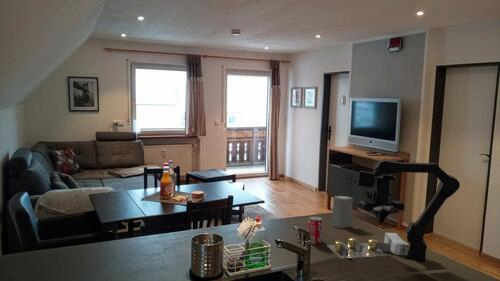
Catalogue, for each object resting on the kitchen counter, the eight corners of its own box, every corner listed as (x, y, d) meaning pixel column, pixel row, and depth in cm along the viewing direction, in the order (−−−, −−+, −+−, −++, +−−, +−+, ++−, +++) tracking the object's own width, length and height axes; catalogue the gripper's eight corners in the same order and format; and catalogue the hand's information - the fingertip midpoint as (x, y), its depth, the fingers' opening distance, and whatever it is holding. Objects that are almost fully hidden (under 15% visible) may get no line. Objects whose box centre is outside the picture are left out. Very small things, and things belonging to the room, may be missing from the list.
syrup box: (395, 244, 171) (408, 257, 157) (383, 244, 171) (394, 256, 157) (396, 232, 171) (409, 244, 156) (384, 232, 171) (395, 244, 156)
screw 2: (367, 249, 161) (367, 240, 161) (368, 245, 165) (368, 237, 165) (389, 252, 158) (390, 244, 157) (389, 249, 162) (390, 241, 161)
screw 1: (332, 248, 160) (333, 240, 160) (341, 248, 161) (341, 239, 161) (342, 257, 151) (342, 248, 151) (351, 256, 152) (351, 248, 152)
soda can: (321, 240, 172) (322, 216, 171) (322, 246, 165) (324, 220, 164) (306, 239, 173) (307, 215, 172) (306, 245, 166) (308, 219, 165)
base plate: (388, 257, 156) (388, 254, 156) (340, 260, 151) (340, 257, 151) (370, 245, 169) (370, 242, 169) (326, 247, 165) (326, 244, 165)
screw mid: (346, 245, 165) (346, 237, 165) (354, 244, 166) (355, 236, 166) (356, 253, 156) (357, 244, 156) (364, 252, 157) (365, 244, 157)
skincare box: (340, 229, 190) (342, 199, 188) (330, 225, 196) (332, 196, 194) (352, 227, 194) (354, 197, 192) (342, 223, 200) (344, 194, 198)
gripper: (391, 185, 165) (388, 218, 167) (353, 184, 161) (350, 219, 163) (407, 191, 154) (403, 227, 156) (366, 191, 151) (363, 227, 152)
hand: (379, 224), depth 157 cm, fingers closed
